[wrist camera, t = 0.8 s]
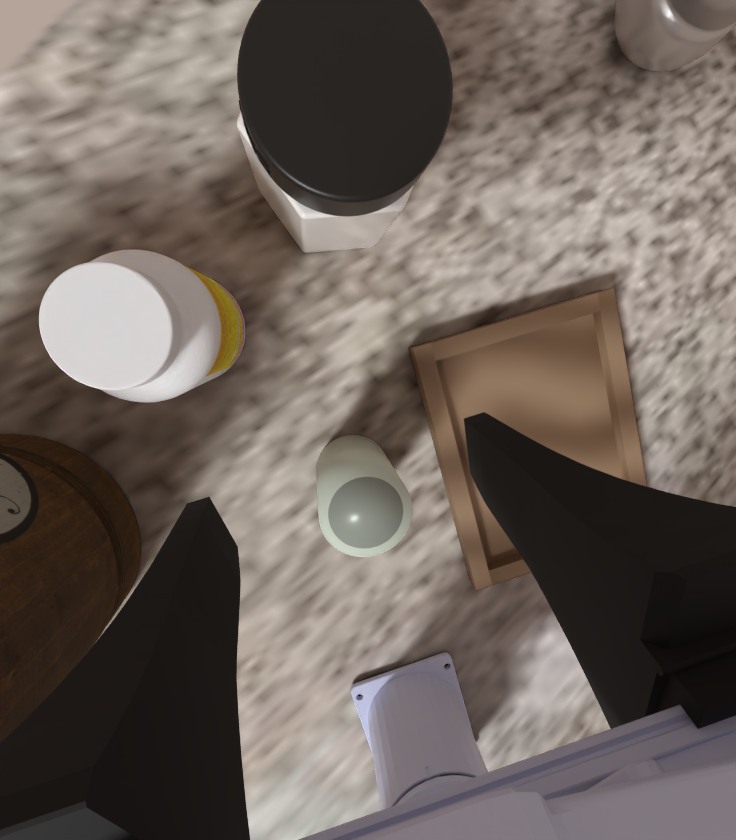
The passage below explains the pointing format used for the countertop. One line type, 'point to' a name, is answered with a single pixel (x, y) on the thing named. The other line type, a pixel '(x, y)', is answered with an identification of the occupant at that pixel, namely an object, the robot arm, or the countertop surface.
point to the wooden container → (56, 566)
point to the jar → (341, 112)
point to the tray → (529, 407)
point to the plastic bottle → (671, 30)
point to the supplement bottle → (140, 326)
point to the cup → (360, 497)
